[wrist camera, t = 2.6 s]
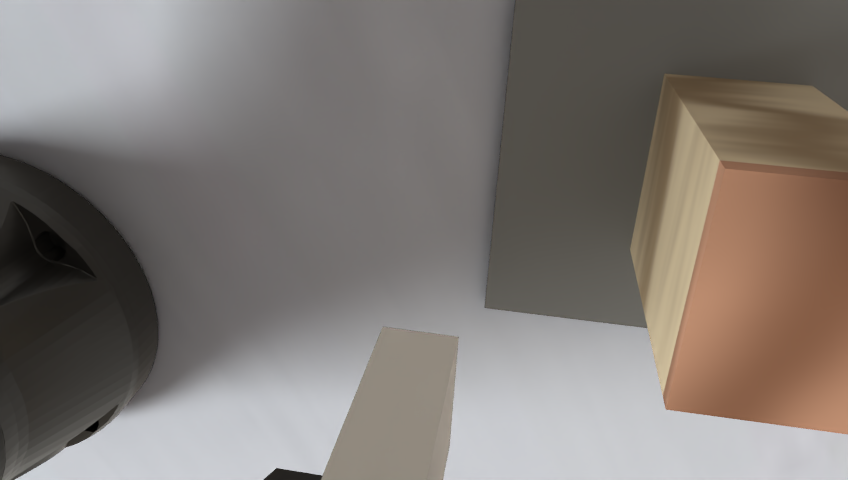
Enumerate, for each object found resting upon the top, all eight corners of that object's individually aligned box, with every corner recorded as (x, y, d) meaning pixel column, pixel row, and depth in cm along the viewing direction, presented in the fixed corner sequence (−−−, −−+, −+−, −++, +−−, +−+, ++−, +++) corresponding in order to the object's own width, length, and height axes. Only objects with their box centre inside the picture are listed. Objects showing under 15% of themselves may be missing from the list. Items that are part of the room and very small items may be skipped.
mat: (485, 300, 31) (484, 307, 31) (526, -107, 24) (525, -107, 24) (1090, 375, 28) (1100, 384, 28) (1334, -63, 21) (1354, -62, 21)
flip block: (630, 249, 29) (665, 409, 20) (664, 73, 26) (725, 168, 17) (761, 264, 28) (859, 435, 19) (812, 85, 25) (957, 191, 16)
